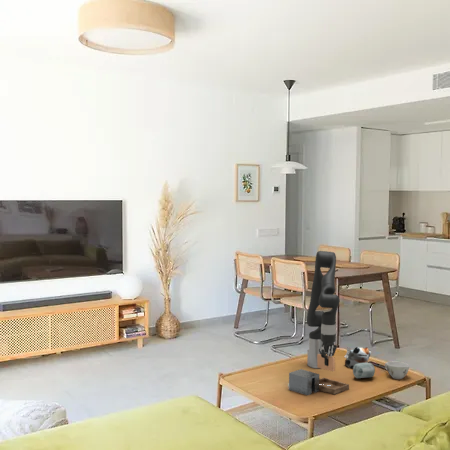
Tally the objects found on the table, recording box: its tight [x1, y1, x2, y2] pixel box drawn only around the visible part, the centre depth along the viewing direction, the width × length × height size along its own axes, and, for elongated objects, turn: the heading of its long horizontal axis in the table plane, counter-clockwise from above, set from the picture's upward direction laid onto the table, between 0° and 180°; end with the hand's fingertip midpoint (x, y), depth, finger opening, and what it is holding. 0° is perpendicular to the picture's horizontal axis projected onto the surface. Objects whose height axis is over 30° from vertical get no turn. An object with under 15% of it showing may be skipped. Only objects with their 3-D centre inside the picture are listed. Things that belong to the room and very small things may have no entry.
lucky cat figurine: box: [344, 346, 372, 369], centre depth 327 cm, size 15×12×14 cm
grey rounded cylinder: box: [352, 362, 376, 379], centre depth 306 cm, size 14×10×10 cm
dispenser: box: [288, 368, 320, 396], centre depth 285 cm, size 12×10×9 cm
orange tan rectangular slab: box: [316, 354, 336, 372], centre depth 285 cm, size 10×2×7 cm, turn 43°
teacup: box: [384, 360, 410, 380], centre depth 309 cm, size 15×12×8 cm
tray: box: [318, 377, 350, 396], centre depth 289 cm, size 16×13×3 cm
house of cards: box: [344, 346, 351, 359], centre depth 345 cm, size 9×9×8 cm
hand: (327, 364), depth 284 cm, fingers closed on orange tan rectangular slab
